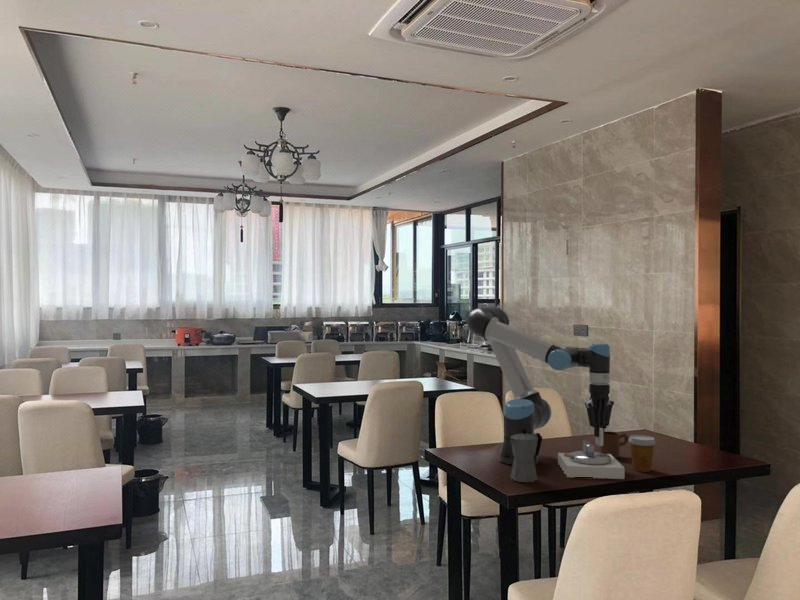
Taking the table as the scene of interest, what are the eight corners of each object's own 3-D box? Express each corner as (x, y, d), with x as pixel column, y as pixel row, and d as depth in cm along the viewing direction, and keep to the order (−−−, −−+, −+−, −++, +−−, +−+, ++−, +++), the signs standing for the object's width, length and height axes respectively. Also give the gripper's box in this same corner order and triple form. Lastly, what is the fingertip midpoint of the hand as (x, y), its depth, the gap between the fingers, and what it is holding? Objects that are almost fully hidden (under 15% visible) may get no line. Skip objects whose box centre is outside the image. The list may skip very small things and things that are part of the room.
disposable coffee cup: (659, 469, 241) (660, 437, 241) (648, 474, 234) (648, 441, 234) (635, 464, 247) (635, 433, 247) (623, 469, 241) (624, 437, 241)
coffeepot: (519, 485, 218) (520, 432, 218) (500, 479, 226) (501, 428, 226) (551, 479, 227) (551, 428, 227) (531, 472, 235) (532, 423, 235)
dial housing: (567, 477, 229) (567, 462, 229) (557, 462, 249) (557, 449, 249) (624, 479, 228) (624, 464, 228) (610, 464, 247) (610, 451, 247)
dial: (615, 465, 230) (615, 450, 230) (573, 464, 231) (573, 449, 231) (604, 454, 246) (605, 440, 246) (565, 453, 247) (565, 439, 247)
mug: (622, 453, 266) (622, 430, 266) (633, 457, 259) (633, 434, 259) (596, 454, 263) (596, 431, 263) (606, 459, 256) (606, 435, 256)
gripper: (593, 385, 240) (592, 448, 240) (619, 383, 246) (619, 445, 246) (579, 383, 247) (579, 444, 247) (605, 381, 252) (605, 441, 252)
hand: (599, 444), depth 246 cm, fingers closed
